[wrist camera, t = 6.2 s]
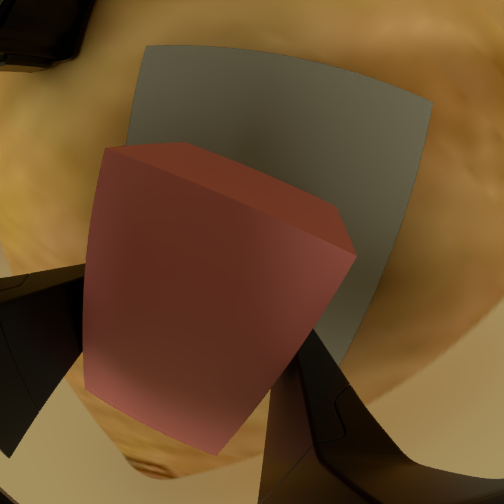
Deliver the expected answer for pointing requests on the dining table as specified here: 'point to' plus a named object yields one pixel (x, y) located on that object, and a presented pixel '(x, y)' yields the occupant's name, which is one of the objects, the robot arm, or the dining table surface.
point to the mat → (297, 144)
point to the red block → (201, 286)
